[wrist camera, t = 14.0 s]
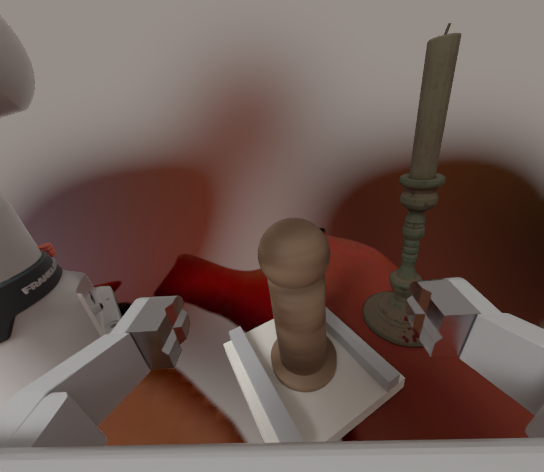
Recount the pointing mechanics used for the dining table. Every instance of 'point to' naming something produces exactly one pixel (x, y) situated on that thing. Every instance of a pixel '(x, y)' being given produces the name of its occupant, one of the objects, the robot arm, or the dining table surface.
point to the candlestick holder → (417, 191)
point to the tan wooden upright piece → (298, 303)
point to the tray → (318, 404)
